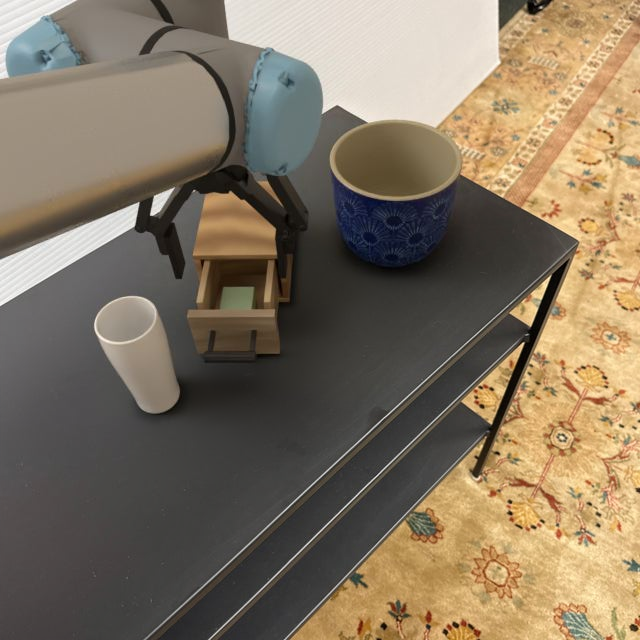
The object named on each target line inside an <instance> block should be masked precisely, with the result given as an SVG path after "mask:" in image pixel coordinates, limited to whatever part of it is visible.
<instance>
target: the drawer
mask: <svg viewBox="0 0 640 640" xmlns="http://www.w3.org/2000/svg"><path fill="white" fill-rule="evenodd" d="M280 281H281V279H280V276H279V268H278V259H205V261H204V266H203V271H202V276H201V281H199V287H198V292H197V297H196V306H197V309H188V311H187V315H186V319H187V322H188V325H189V328H190V332H191V336H192V338H193V341H194V345H195V348H196V350H197V354H198V355H203V363H204V364H256V362H257V355H263V354H264V355H279V354H280V355H281V346H282V345H281V340H280V339H281V338H280V332H279V327H278V326H279V325H278V315H279V303H280V302H279V292H280ZM223 287H254V288H255V294H256V300H257V305H258V309H236V310H220V304H221V298H222V291H223Z"/></svg>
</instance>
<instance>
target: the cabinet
mask: <svg viewBox="0 0 640 640" xmlns="http://www.w3.org/2000/svg"><path fill="white" fill-rule="evenodd" d="M256 181H257V182H258V183H259V184H260V185H261V186H262V187H263V188H264V189H265V190H266V191H267V192H268V193H269V194H270V195H271V196H272V197H273V198H274V199H275V200H276V201H277V202H279V203H280V204H281V202H280V201H279V199H278V197H277V196H276V194H275V193H274V191H273V190H272V188H271V186H270V185H269V183H268V180H265V181H264V180H261V181H260V180H259V181H258V180H256ZM204 195H205V196H204V201H203V205H202V209H201V214H200V220H199V223H198V227H197V228H198V229H197V233H196V238H195V242H194V247H193V251H192V258H193V262H194V267H195V270H196V274H197V277H198V280H199V282H200V281H201V276H202V271H203V266H204V261H205V259H277V251H276V243H275V232H276V228H274V227H273V226H272V225H271V224H270V223H269V222H268V221H267V220H266V219H265V218H264V217H262V216H261V215H260V214H259V213H258V212H257V211H256V210H255V209H254V208H253V207H252V206H251V205H249V204H248V203H247V202H246V201H245V200H240V199H239V198H238V197H237V196H236V195H235V194H234V193H232V192H231V191H229V194H220V193H215V192H213V193H209V194H204ZM281 205H282V204H281ZM282 206H283V205H282ZM295 232H296V231H295ZM295 232H294V234H296V233H295ZM293 258H294V253H293V254H287V275H286V279H281V281H280V292H279V303H290V300H291V287H292V286H291V284H292V272H293V260H294V259H293Z"/></svg>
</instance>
